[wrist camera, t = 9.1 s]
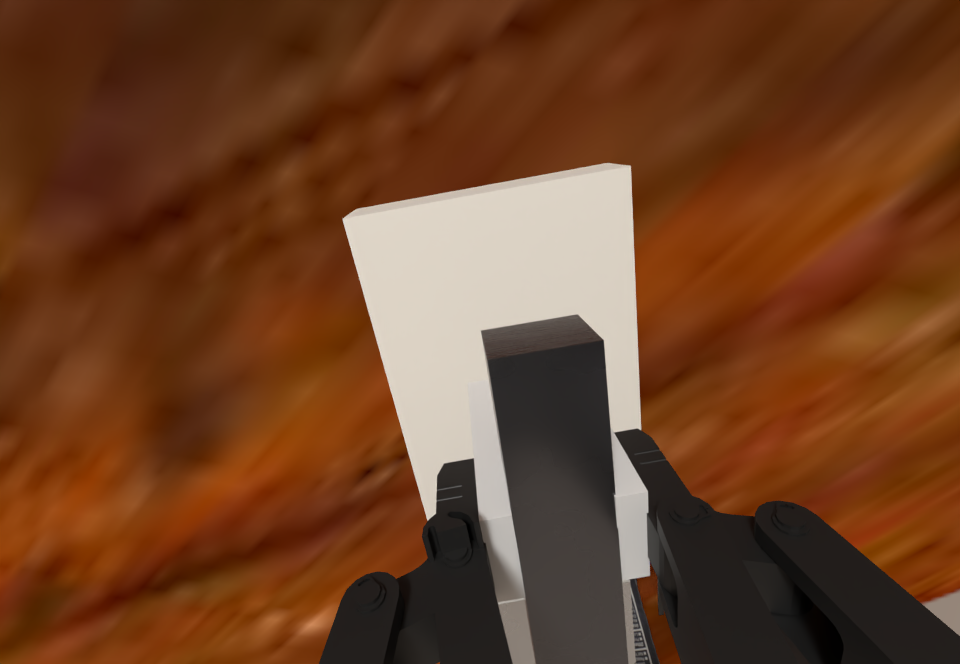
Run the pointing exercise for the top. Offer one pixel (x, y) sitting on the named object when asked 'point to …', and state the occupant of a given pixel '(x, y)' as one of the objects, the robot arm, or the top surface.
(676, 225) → the top surface
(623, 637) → the dark gray bar
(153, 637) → the top surface
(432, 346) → the board
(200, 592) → the top surface
